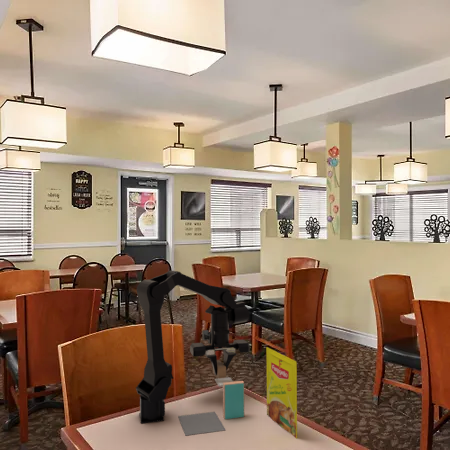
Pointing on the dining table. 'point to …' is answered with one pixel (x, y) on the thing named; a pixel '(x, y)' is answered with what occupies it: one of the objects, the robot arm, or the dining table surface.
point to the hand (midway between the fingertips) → (220, 374)
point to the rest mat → (201, 423)
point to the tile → (233, 399)
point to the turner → (221, 374)
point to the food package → (282, 390)
